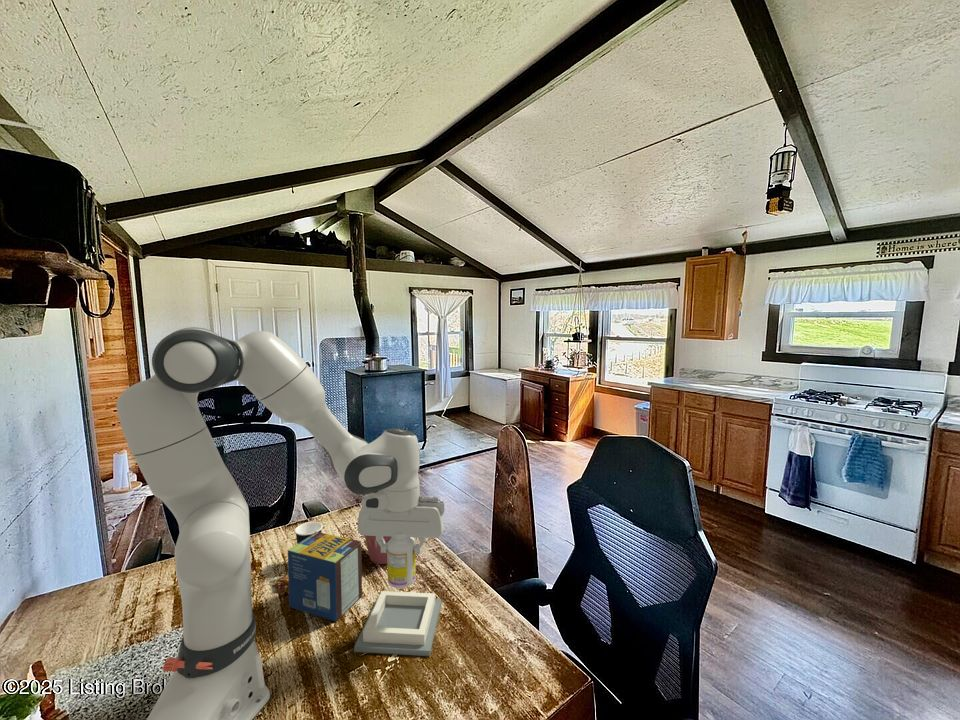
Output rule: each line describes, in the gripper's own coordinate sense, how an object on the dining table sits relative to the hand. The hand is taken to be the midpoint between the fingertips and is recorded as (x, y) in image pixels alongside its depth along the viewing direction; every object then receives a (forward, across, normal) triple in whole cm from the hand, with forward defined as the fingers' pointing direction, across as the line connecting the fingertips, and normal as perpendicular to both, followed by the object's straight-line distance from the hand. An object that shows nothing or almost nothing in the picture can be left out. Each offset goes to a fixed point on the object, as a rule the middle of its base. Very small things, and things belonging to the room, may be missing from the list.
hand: (401, 552), depth 95 cm
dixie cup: (+19, +35, -24) cm, 46 cm away
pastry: (+19, +36, -13) cm, 42 cm away
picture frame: (+18, 0, 0) cm, 18 cm away
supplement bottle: (+7, 0, 0) cm, 7 cm away
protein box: (+19, +22, -7) cm, 30 cm away
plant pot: (+19, +13, -29) cm, 37 cm away
